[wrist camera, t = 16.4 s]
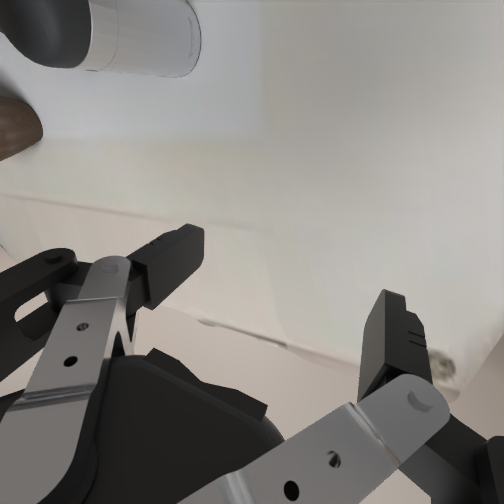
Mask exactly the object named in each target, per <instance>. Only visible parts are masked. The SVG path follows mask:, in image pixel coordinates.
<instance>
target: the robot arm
mask: <svg viewBox="0 0 504 504" xmlns="http://www.w3.org/2000/svg"><path fill="white" fill-rule="evenodd" d="M0 28H1V30H2V31H3V33H4V34H5V36H6V37H7V38H8V39H9V41H10V42H11V43H12V44H13V45H14V47H15V48H16V49H17V50H18V51H20V52H21V53H22V54H23V55H24V56H25V57H27V58H28V59H30V60H31V61H33V62H35V63H38V64H41V65H43V66H48V67H55V68H68V69H80V70H95V71H107V72H119V73H130V74H142V75H154V76H165V77H182V76H184V75H187V74H188V73H189V72H190V71H191V70H192V69H193V67H194V66H195V64H196V62H197V60H198V56H199V52H200V44H201V38H200V29H199V24H198V21H197V18H196V16H195V14H194V12H193V10H192V8H191V7H190V5H189V4H188V3H187V2H186V1H185V0H0ZM203 258H204V230H203V228H201V227H198V226H195V225H192V224H185V225H184V226H182V227H181V228H179V229H177V230H173V231H170V232H166V233H164V234H162V235H160V236H159V237H157V238H156V239H154V240H152V241H151V242H150V243H149V244H146V245H144V246H143V247H141V248H140V249H138V250H136V251H135V252H133V253H132V254H130V255H128V256H127V257H122V256H108V257H104V258H101V259H99V260H97V261H95V262H94V263H87V262H79V261H77V258H76V255H75V252H74V251H73V250H71V249H67V248H55V249H50V250H46V251H43V252H41V253H39V254H37V255H35V256H33V257H31V258H29V259H27V260H25V261H23V262H21V263H19V264H17V265H15V266H13V267H11V268H9V269H7V270H5V271H3V272H1V273H0V382H1V381H2V380H3V379H5V378H6V377H7V376H8V375H10V374H11V373H12V372H13V371H15V370H16V369H17V368H18V367H20V366H21V365H22V364H24V363H25V362H26V361H27V360H28V359H30V358H31V357H32V356H33V355H35V354H36V353H37V352H39V351H40V350H41V349H42V348H44V349H43V352H42V354H41V356H40V359H39V361H38V363H37V365H36V367H35V369H34V371H33V374H32V376H31V378H30V380H29V382H28V384H27V387H26V388H25V389H22V390H20V391H17V392H14V393H11V394H8V395H5V396H2V397H0V504H359V503H360V502H361V501H362V500H363V499H364V498H366V497H367V496H368V495H369V494H370V493H371V492H372V491H373V490H374V489H376V487H378V486H379V485H380V484H381V483H382V482H383V481H384V480H385V479H387V478H388V477H389V476H390V475H391V474H392V473H393V472H394V471H395V470H397V469H399V470H400V471H401V472H403V473H404V474H405V475H406V476H407V477H408V478H409V479H411V480H412V481H413V482H414V483H415V484H416V485H417V486H419V487H420V488H421V489H422V490H423V491H424V492H425V493H427V494H428V495H429V496H430V497H431V504H504V436H494V437H492V438H490V439H489V440H486V439H485V438H483V437H482V436H480V435H479V434H478V433H476V432H475V431H473V430H472V429H470V428H469V427H467V426H466V425H465V424H463V423H462V422H460V421H459V420H458V419H456V418H455V417H454V416H453V415H452V414H451V413H450V410H449V406H448V404H447V402H446V400H445V398H444V397H443V395H442V394H441V393H440V392H439V391H438V390H437V389H436V388H435V387H434V386H433V382H432V376H431V370H430V364H429V357H428V351H427V349H426V347H427V345H426V339H425V333H424V326H423V324H422V323H421V321H420V320H419V318H418V317H417V315H416V314H415V313H412V312H409V311H406V302H405V296H403V295H400V294H397V293H394V292H391V291H388V290H385V289H383V290H382V291H381V293H380V295H379V297H378V299H377V301H376V303H375V305H374V307H373V309H372V311H371V312H370V314H369V316H368V319H367V321H366V324H365V328H364V335H363V345H362V356H361V366H360V377H359V388H358V398H357V403H356V404H354V405H353V404H352V403H351V402H348V403H346V404H344V405H342V406H340V407H339V408H337V409H335V410H334V411H332V412H331V413H329V414H327V415H326V416H324V417H323V418H321V419H320V420H318V421H316V422H315V423H314V424H312V425H310V426H308V427H307V428H305V429H304V430H302V431H301V432H299V433H297V434H296V435H294V436H293V437H291V438H289V439H288V440H286V441H285V440H284V438H283V436H282V435H281V433H280V432H279V431H278V429H277V428H276V427H275V425H274V424H273V423H272V422H271V421H270V420H269V419H268V418H267V417H266V416H265V413H266V410H267V407H268V405H266V404H264V403H262V402H260V401H258V400H256V399H254V398H252V397H250V396H248V395H246V394H244V393H242V392H240V391H239V390H236V389H231V388H227V387H222V386H217V385H213V384H208V383H204V382H202V381H200V380H199V379H198V378H197V377H196V376H195V375H194V374H193V373H192V372H191V371H190V370H189V369H188V368H186V367H185V366H184V365H183V364H182V363H181V362H180V361H179V360H177V359H175V358H173V357H171V356H169V355H167V354H165V353H163V352H161V351H159V350H157V349H155V348H153V349H152V350H151V351H150V353H148V354H147V356H145V355H134V345H135V337H136V330H137V322H138V315H139V313H138V309H140V307H142V306H144V307H146V308H148V309H150V310H153V309H155V308H156V307H157V306H158V305H159V304H160V303H161V302H162V301H163V300H164V299H165V298H167V297H168V296H169V295H170V294H171V293H172V292H173V291H174V290H175V289H176V288H177V287H178V286H180V285H181V284H182V283H183V282H184V281H185V280H186V279H187V278H188V277H189V276H190V275H191V274H193V273H194V272H195V271H196V270H197V269H198V268H199V267H200V265H201V264H202V261H203ZM42 292H44V293H45V295H46V298H47V300H48V302H47V303H45V304H44V305H42V306H41V307H39V308H38V309H36V310H35V311H33V312H32V313H30V314H28V315H27V316H25V317H24V318H22V319H21V320H19V321H18V322H16V320H15V318H14V316H15V312H16V310H17V309H18V308H19V307H20V306H21V305H23V304H24V303H26V302H27V301H29V300H31V299H32V298H34V297H35V296H37V295H39V294H40V293H42Z"/></svg>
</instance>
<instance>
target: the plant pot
mask: <svg viewBox="0 0 504 504" xmlns="http://www.w3.org/2000/svg"><path fill="white" fill-rule="evenodd" d="M42 135H43V130H42V125H41V122H40V120H39V118H38V116H37V114H36V113H35V112H34V110H33V109H32V108H31V107H30V106H29V105H27V104H25V103H23V102H20V101H17V100H13V99H10V98H7V97H4V96H0V161H2V160H4V159H6V158H8V157H11V156H13V155H15V154H17V153H19V152H21V151H22V150H24V149H26V148H28V147H29V146H31V145H33V144H34V143H36V142H37V141H39V140H40V139H41V138H42Z"/></svg>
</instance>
